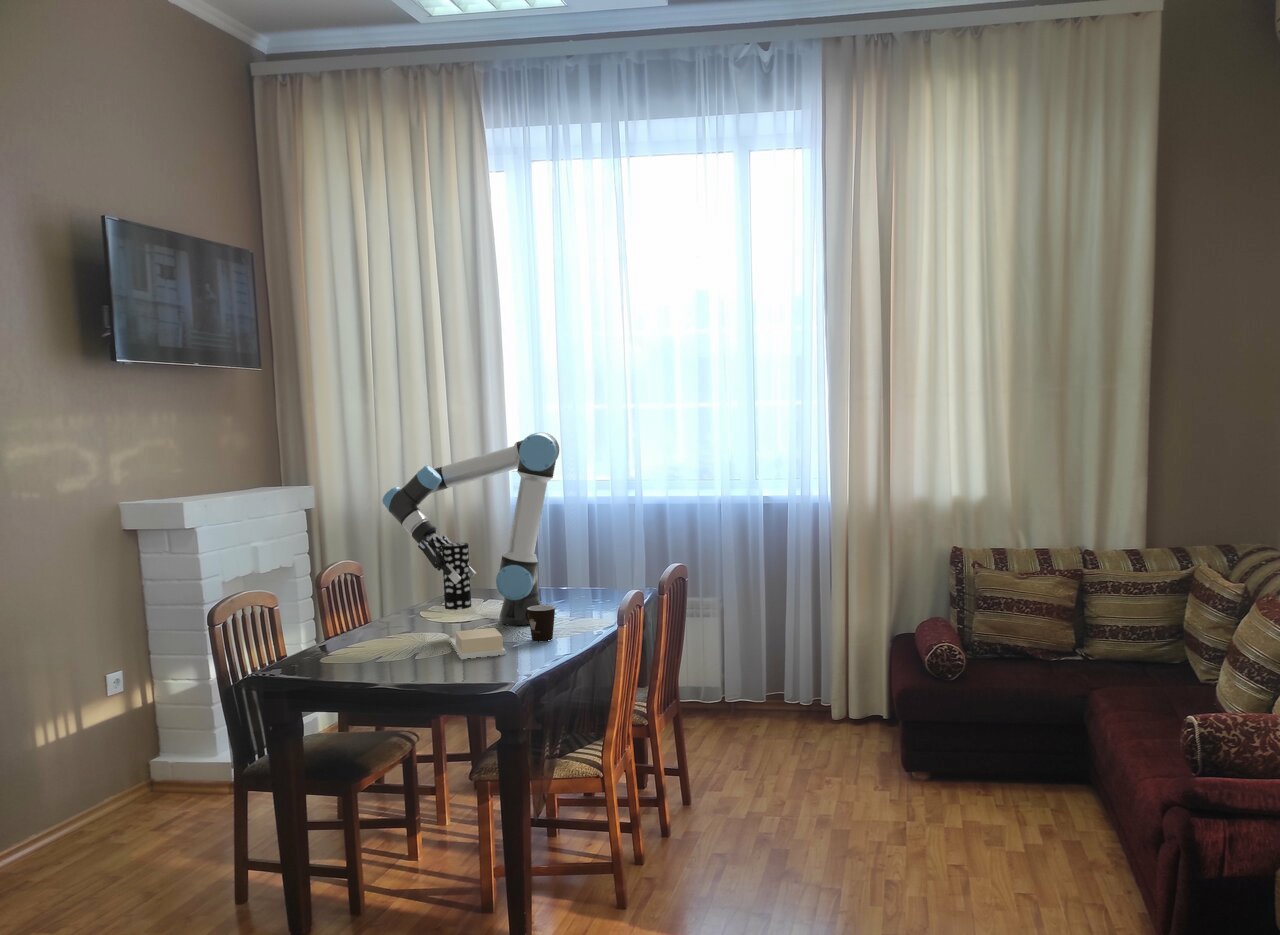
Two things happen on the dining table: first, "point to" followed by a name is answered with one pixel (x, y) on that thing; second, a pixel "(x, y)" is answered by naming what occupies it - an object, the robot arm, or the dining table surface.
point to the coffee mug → (541, 622)
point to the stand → (478, 643)
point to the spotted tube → (459, 561)
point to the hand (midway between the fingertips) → (465, 578)
